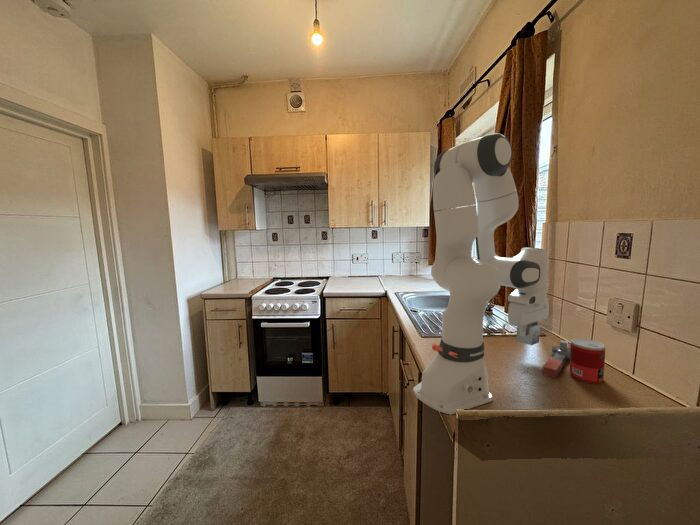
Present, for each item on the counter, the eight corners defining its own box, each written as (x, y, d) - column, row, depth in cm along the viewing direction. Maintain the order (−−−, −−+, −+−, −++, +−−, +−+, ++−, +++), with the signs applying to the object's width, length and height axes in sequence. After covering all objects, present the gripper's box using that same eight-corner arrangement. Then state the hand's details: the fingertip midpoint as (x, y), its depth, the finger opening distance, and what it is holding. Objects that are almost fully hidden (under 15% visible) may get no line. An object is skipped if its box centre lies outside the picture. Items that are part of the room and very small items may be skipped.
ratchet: (562, 380, 85) (563, 363, 85) (535, 372, 91) (536, 356, 90) (578, 356, 100) (578, 341, 99) (554, 350, 105) (554, 336, 104)
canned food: (606, 386, 81) (608, 350, 80) (570, 380, 85) (572, 345, 84) (600, 374, 88) (602, 340, 86) (567, 369, 92) (569, 336, 90)
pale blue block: (531, 345, 95) (532, 326, 94) (516, 340, 99) (517, 322, 98) (538, 342, 98) (540, 324, 97) (523, 337, 102) (524, 320, 101)
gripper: (536, 290, 105) (533, 326, 106) (505, 296, 94) (502, 336, 95) (555, 293, 99) (552, 331, 101) (525, 300, 89) (522, 343, 90)
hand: (528, 334), depth 98 cm, fingers closed on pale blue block, 5 cm apart
